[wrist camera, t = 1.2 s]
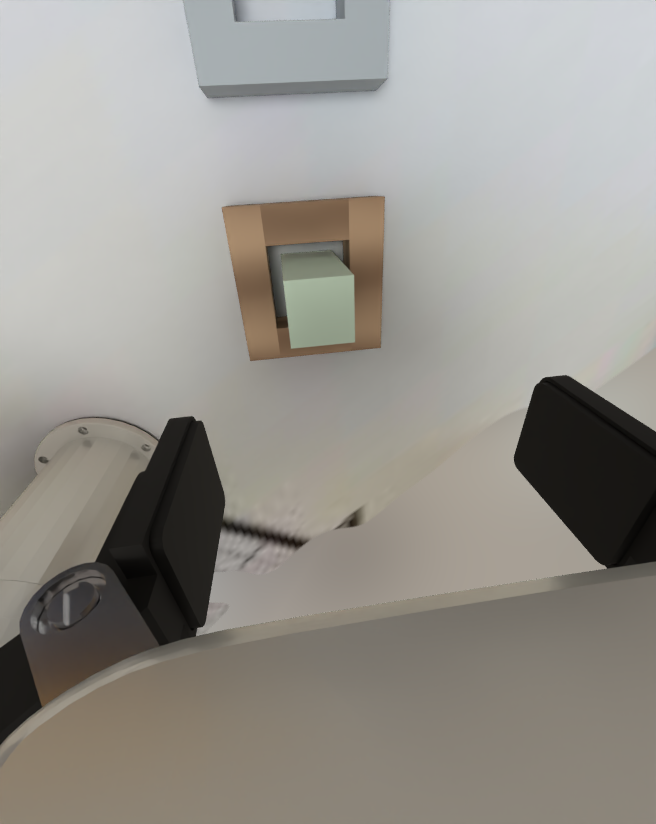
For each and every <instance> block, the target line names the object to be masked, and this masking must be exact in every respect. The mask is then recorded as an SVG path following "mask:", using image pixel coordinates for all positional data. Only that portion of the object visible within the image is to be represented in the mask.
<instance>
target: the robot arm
mask: <svg viewBox="0 0 656 824" xmlns="http://www.w3.org/2000/svg"><path fill="white" fill-rule="evenodd" d="M34 462H35V470H36V472H37V476H36V477H35V479H34V480H33V481H32V482H31V483H30V485H29V486H28V487H27V488H26V489H25V491H24V492H23V493H22V494H21V495H20V497H19V498H18V499H17V500H16V501H15V503H14V504H13V505H12V506H11V507H10V508H9V510H8V511H7V512H6V513H5V514H4V516H3V517H2V518H1V519H0V824H656V432H655V431H654V430H652V429H650V428H649V427H647V426H646V425H644V424H643V423H641V422H640V421H638V420H637V419H635V418H633V417H632V416H630V415H629V414H627V413H626V412H624V411H623V410H621V409H619V408H618V407H616V406H615V405H613V404H612V403H610V402H608V401H607V400H605V399H604V398H602V397H600V396H599V395H598V394H596V393H594V392H593V391H591V390H590V389H588V388H587V387H585V386H583V385H582V384H580V383H579V382H577V381H576V380H574V379H573V378H571V377H569V376H567V375H563V376H553V377H545V378H543V379H542V380H541V381H540V383H538V384H537V385H536V386H535V388H534V391H533V394H532V397H531V401H530V404H529V407H528V411H527V414H526V418H525V421H524V424H523V428H522V431H521V435H520V438H519V441H518V445H517V448H516V451H515V455H514V462H515V465H516V467H517V469H518V470H519V471H520V472H521V474H522V475H523V476H524V477H525V478H526V479H527V480H528V482H529V483H530V484H531V485H532V486H533V488H534V489H535V490H536V491H537V492H538V493H539V495H540V496H541V497H542V498H543V499H544V500H545V502H546V503H547V504H548V505H549V506H550V507H551V509H553V511H554V512H555V513H556V514H557V515H558V517H559V518H560V519H561V520H562V521H563V522H564V524H565V525H566V526H567V527H568V528H569V529H570V531H571V532H572V533H573V534H574V535H575V536H576V537H577V538H578V540H579V541H580V542H581V543H582V545H583V546H584V547H585V548H586V549H587V550H588V552H589V553H590V554H591V555H592V556H593V557H594V559H595V560H596V561H597V562H599V563H600V564H602V565H605V566H606V567H607V569H602V570H596V571H589V572H582V573H576V574H569V575H562V576H555V577H549V578H543V579H536V580H530V581H523V582H516V583H510V584H503V585H497V586H491V587H484V588H478V589H471V590H464V591H458V592H452V593H445V594H438V595H432V596H426V597H419V598H413V599H407V600H400V601H394V602H388V603H382V604H376V605H369V606H363V607H356V608H350V609H344V610H338V611H331V612H325V613H319V614H312V615H307V616H301V617H295V618H290V619H284V620H278V621H272V622H267V623H261V624H256V625H250V626H244V627H239V628H233V629H227V630H222V631H218V632H214V633H209V634H205V635H200V636H196V632H197V628H199V627H203V626H204V624H205V621H206V616H207V610H208V604H209V598H210V592H211V586H212V580H213V574H214V568H215V562H216V556H217V550H218V544H219V538H220V532H221V526H222V520H223V514H224V508H225V496H224V491H223V488H222V485H221V481H220V478H219V474H218V471H217V468H216V464H215V461H214V458H213V454H212V451H211V448H210V444H209V441H208V438H207V434H206V431H205V427H204V424H203V422H202V421H196V420H195V418H194V417H193V416H190V417H181V418H172V419H169V421H168V423H167V425H166V427H165V429H164V431H163V433H162V436H161V438H160V440H159V442H158V441H157V440H156V439H154V438H153V437H152V436H150V435H149V434H148V433H146V432H144V431H142V430H140V429H139V428H137V427H135V426H132V425H129V424H126V423H124V422H120V421H115V420H111V419H102V418H85V419H78V420H74V421H69V422H67V423H64V424H62V425H60V426H58V427H56V428H55V429H54V430H52V431H51V432H50V433H49V434H48V435H47V436H46V437H45V438H44V439H43V440H42V441H41V442H40V444H39V446H38V448H37V450H36V453H35V457H34Z"/></svg>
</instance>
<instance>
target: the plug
mask: <svg viewBox="0 0 656 824" xmlns="http://www.w3.org/2000/svg"><path fill="white" fill-rule="evenodd" d="M281 262H282V274H283V284H284V293H285V301H286V310H287V318H288V327H289V335H290V344H291V349H293V348H303V347H313V346H323V345H333V344H343V343H353V342H355V304H354V274H353V273H352V272H351V271H350V270H349V269H348V268H347V267H346V266H345V265H344V264H343V263H342V262H341V260H340V259H339V258H338V257H337V256H336V255H335V254H334V253H333V252H332V251H331V250H325V251H312V252H299V253H287V254H281Z"/></svg>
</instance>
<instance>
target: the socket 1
mask: <svg viewBox="0 0 656 824" xmlns="http://www.w3.org/2000/svg"><path fill="white" fill-rule="evenodd" d="M183 4H184V9H185V15H186V20H187V25H188V31H189V36H190V41H191V47H192V52H193V57H194V63H195V68H196V73H197V79H198V84H199V87H200V88H201V90H202V91H203V92H204V94H205V95H206V97H207V98H215V97H238V96H260V95H283V94H306V93H328V92H351V91H373V90H377V89H378V88H379V87H380V86H381V85H382V84H383V83H384V82H385V81H386V80H387V79H388V53H389V15H390V0H336V19H319V20H284V21H248V22H237V20H236V12H235V5H234V0H183Z"/></svg>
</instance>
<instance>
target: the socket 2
mask: <svg viewBox="0 0 656 824" xmlns="http://www.w3.org/2000/svg"><path fill="white" fill-rule="evenodd" d="M384 203H385V197H383V196H368V197H353V198H338V199H323V200H309V201H294V202H279V203H264V204H249V205H235V206H225V207H222V212H223V217H224V223H225V228H226V233H227V239H228V244H229V249H230V255H231V260H232V265H233V271H234V276H235V281H236V287H237V292H238V297H239V303H240V308H241V313H242V319H243V324H244V329H245V335H246V340H247V345H248V351H249V356H250V361H254V360H264V359H274V358H284V357H294V356H304V355H314V354H324V353H333V352H343V351H353V350H363V349H373V348H381V315H382V277H383V240H384ZM339 240H343V261H344V265H345V266H346V267H347V268H348V269H349V270H350V271H351V272H352V273H353V274H354V304H355V342H353V343H343V344H333V345H323V346H313V347H303V348H293V349H291V344H290V335H289V327H288V318H287V316H286V317H276V309H275V302H274V294H273V287H272V280H271V272H270V265H269V257H268V250H267V246H274V245H287V244H300V243H313V242H326V241H339Z"/></svg>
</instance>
